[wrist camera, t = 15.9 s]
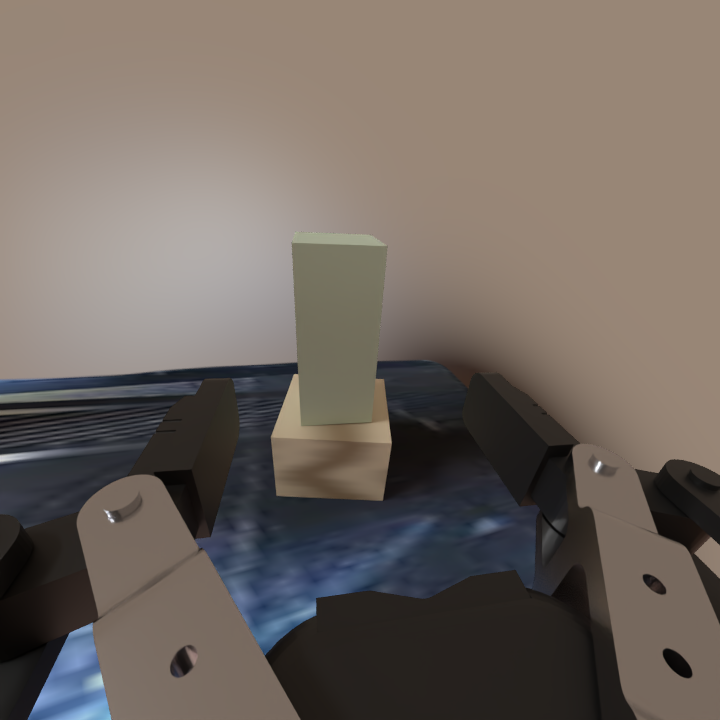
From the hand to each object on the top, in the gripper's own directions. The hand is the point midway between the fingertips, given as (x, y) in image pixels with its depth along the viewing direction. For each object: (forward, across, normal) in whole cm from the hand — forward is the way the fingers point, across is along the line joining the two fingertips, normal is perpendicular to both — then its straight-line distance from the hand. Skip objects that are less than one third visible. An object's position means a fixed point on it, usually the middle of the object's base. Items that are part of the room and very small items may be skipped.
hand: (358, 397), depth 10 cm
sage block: (+11, 0, +8) cm, 14 cm away
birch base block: (+11, 0, +14) cm, 18 cm away
